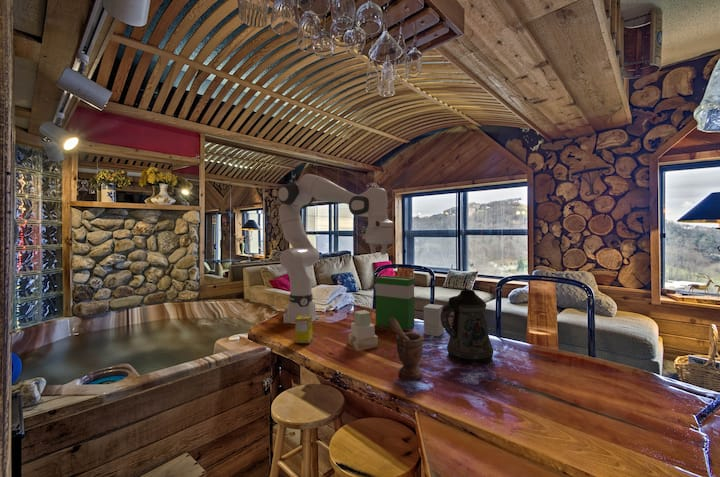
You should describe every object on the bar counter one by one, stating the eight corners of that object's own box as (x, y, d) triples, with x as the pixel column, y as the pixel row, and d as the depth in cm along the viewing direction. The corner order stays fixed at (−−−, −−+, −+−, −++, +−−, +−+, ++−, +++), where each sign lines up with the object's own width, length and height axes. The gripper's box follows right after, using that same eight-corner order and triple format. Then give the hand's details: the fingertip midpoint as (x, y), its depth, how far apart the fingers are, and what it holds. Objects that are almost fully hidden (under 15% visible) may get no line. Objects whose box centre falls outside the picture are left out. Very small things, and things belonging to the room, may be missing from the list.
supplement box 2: (444, 332, 148) (444, 305, 147) (438, 336, 141) (438, 308, 141) (428, 329, 152) (428, 303, 151) (423, 334, 145) (423, 306, 145)
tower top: (351, 333, 134) (350, 323, 134) (367, 331, 137) (367, 320, 137) (357, 339, 127) (357, 328, 127) (374, 336, 130) (374, 325, 130)
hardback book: (375, 324, 160) (375, 277, 159) (382, 320, 166) (382, 275, 166) (408, 330, 151) (408, 280, 150) (414, 326, 157) (414, 277, 156)
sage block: (354, 323, 133) (354, 311, 133) (364, 321, 136) (364, 310, 136) (360, 326, 129) (359, 314, 129) (370, 324, 132) (370, 312, 131)
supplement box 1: (312, 339, 139) (312, 315, 139) (309, 344, 133) (308, 319, 133) (299, 339, 140) (299, 314, 139) (295, 344, 134) (294, 318, 133)
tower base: (348, 344, 134) (348, 333, 134) (367, 340, 138) (367, 330, 138) (358, 351, 126) (358, 340, 126) (377, 347, 130) (377, 336, 130)
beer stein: (500, 356, 120) (500, 290, 119) (479, 373, 106) (479, 299, 105) (458, 345, 131) (458, 285, 131) (434, 359, 117) (434, 292, 116)
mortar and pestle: (405, 387, 97) (405, 323, 96) (384, 378, 103) (384, 317, 103) (428, 375, 104) (428, 315, 104) (407, 367, 111) (407, 310, 110)
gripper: (361, 223, 151) (362, 252, 152) (382, 222, 133) (382, 255, 133) (373, 223, 154) (373, 251, 154) (395, 222, 135) (395, 255, 136)
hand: (378, 253), depth 143 cm, fingers open, 8 cm apart
